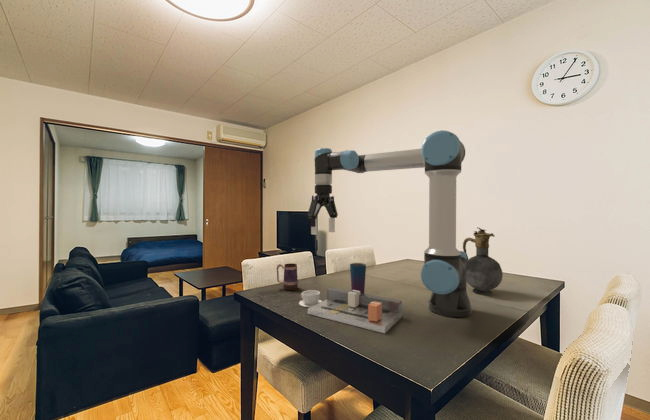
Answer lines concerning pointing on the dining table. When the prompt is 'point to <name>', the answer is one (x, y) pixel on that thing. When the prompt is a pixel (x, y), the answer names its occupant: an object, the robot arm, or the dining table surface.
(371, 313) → the block
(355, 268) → the cup
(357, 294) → the fader
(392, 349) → the dining table surface
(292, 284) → the mug
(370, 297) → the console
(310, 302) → the teacup
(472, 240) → the pitcher
